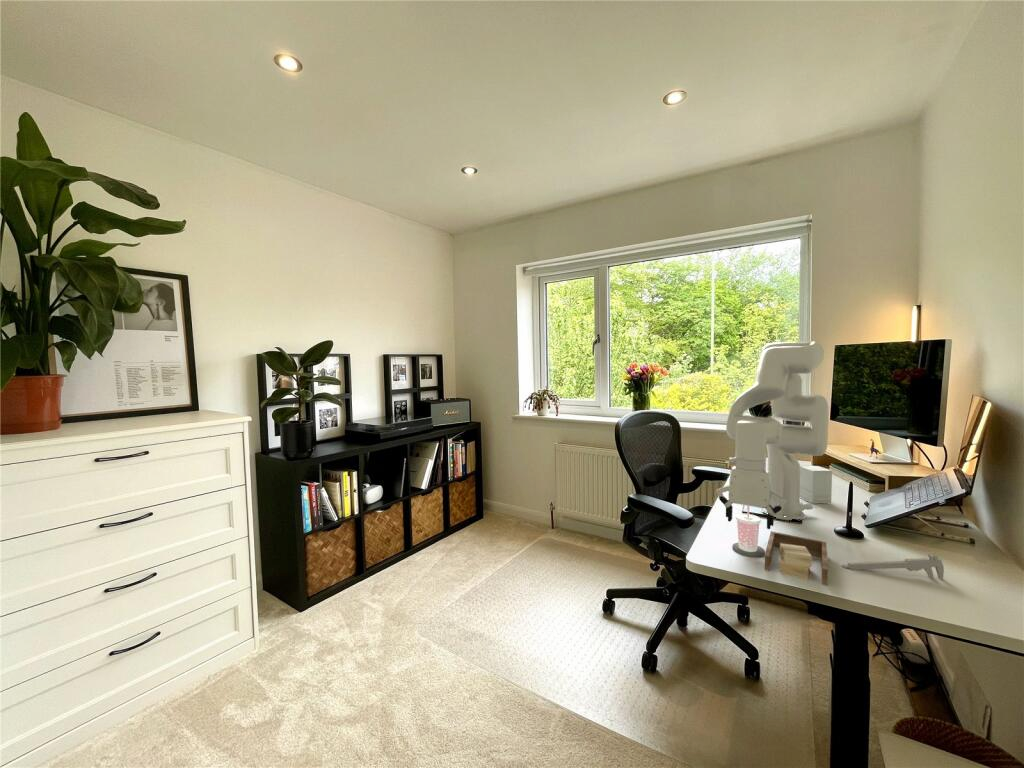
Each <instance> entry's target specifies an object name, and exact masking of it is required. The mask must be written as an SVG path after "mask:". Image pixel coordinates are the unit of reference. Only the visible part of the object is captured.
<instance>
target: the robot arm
mask: <svg viewBox="0 0 1024 768" xmlns="http://www.w3.org/2000/svg"><path fill="white" fill-rule="evenodd" d="M760 352H761V354H760V357H759V361H758V366H757V369H756V373H755V377H754V382H753V385H752V386H751V387H750V388H748V389H746V390H745V391H743V392H742V393H741V394H740V395H739V396H738V397H737V398H735V400H733V403H732V404H731V407H730V410H729V413H728V417H727V419H726V420H727V421H726V434H727V436H728V437H729V438H730V439H732V440H733V441H734V440H735V451H734V452H735V453H734V457H729V459H728V460H729V463H732V464H733V465H734V466H732V467H731V469H730V470H731V471H730V475H729V483H728V485H726V486H723V487H719V488H717V489H716V490H715V494H716V495H717V497H718V499H719V502H721V503H722V504H723V505H724V507H725V517H726V518H727V522H732V520H733V504H736V505H741V506H746V507H747V506H749V507H752V508H753V507H754V508H758V509H761V511H762V510H763V511H764V512H766V513H768V514H767V515H766V517H767V518H766V529H767V530H771V526H772V527H773V526H774V521H775V520H774V519H777V520H783V521H789V520H790V521H791V520H792V519H800V520H799V521H802V520H804V519H805V516H806V515H805V513H804V512H803V511H805V510H813V504H812V503H803V501H801V502H800V499H801V498H800V466H801V465H800V462H799V460H797V458H796V457H795V455H794V454H798V455H806V456H812V457H813V456H815V457H821V456H823V455H825V454H826V452H827V449H828V439H829V437H828V436H829V416H830V415H829V411H830V410H829V403H828V400H827V398H826V397H825V396H823V395H821V394H816V393H803V390H802V389H803V388H802V387H803V386H802V385H803V378H802V376H801V375H800V374H804V375H806V374H811V373H813V372H814V371H815V370H817V369H818V368H819V367H820V366H821V365H822V363H823V360H824V358H825V357H824V356H825V349H824V347H823V345H822V344H821V343H820V342H818V341H782V342H781V341H780V342H771V343H767V344H765V345H764V346H763V347H762V349H761V351H760ZM768 402H771V414H772V416H773V417H774V418H771V417H760V416H749V415H744V413H746V411H748V410H749V409H751V408H754V407H755V406H757V405H761V404H764V403H768ZM780 421H787V422H789V421H790V422H801V423H808V424H809V425H810V426H809V425H808V426H805V425H797V424H787V423H785V424H784V423H781V422H780ZM766 468H767V469H766ZM726 492H728V499H727V498H726V497H725V496H724V494H723V493H726ZM784 516H786V517H784ZM774 517H776V518H774ZM791 522H792V521H791Z"/></svg>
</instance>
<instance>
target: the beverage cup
mask: <svg viewBox="0 0 1024 768" xmlns="http://www.w3.org/2000/svg"><path fill="white" fill-rule="evenodd" d="M746 508H747V511H746V512H747V513H737V514H735V519H736V523H737V525H736V526H737V539H738V540H737V543H738V544H739V548H740V549H742V550H744V551H748V552H755V551H757V546H759V544H758V543H759V534H760V533H759V531H760V523H761V520H762V519H761V518H760V516H757V515H755V514H750V506H746Z"/></svg>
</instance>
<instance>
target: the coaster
mask: <svg viewBox="0 0 1024 768" xmlns="http://www.w3.org/2000/svg"><path fill="white" fill-rule="evenodd" d="M732 550H733V551H734V552H736V553H737V554H739V555H742V556H745V557H750V558H762V557H765V552H766V549H765V548H763V547H761V546H759V545H758V546H757V551H755V552H748V551H744V550H742V549H740V548H739V544H738V542H735V543H733V544H732Z"/></svg>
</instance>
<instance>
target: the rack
mask: <svg viewBox="0 0 1024 768" xmlns="http://www.w3.org/2000/svg"><path fill="white" fill-rule="evenodd" d="M780 543H782V544H789V545H797V546H805V547H806V548H807V550H808V551H809V553H810V554H811V556H816V557H820V558H821V584H822V585H824V584H826V585H825V586H828V578H829V577H828V576H829V573H828V571H829V568H828V567H829V566H828V552H827V550H828V548H827V541H823V540H817V539H814V538H807V537H803V536H797V535H791V534H787V533H781V532H776V531H770V534H769V537H768V541H767V545H766V549H765V555H764V567H763V568H764V570H763V571H767V572H770V569H771V563H772V558H773V555H774V549H775V548H779V549H780Z"/></svg>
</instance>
